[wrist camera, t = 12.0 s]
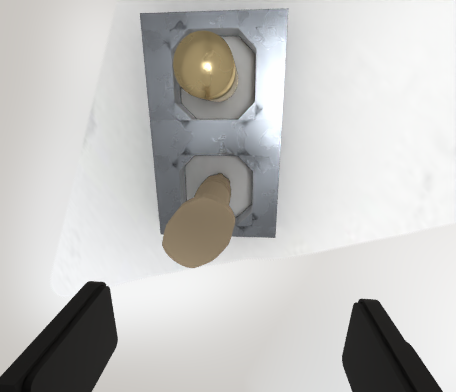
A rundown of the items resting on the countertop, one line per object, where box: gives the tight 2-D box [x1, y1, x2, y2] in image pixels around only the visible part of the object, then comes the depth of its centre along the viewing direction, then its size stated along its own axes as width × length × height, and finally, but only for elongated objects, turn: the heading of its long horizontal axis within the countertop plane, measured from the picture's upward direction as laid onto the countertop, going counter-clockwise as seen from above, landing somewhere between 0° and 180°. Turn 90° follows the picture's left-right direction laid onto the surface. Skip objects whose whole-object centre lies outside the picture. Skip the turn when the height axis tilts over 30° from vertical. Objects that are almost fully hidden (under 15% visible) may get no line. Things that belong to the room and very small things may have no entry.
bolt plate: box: [140, 8, 288, 238], centre depth 31 cm, size 25×15×3 cm, turn 0°
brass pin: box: [173, 31, 238, 102], centre depth 26 cm, size 5×5×10 cm
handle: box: [162, 173, 235, 268], centre depth 28 cm, size 5×6×15 cm
